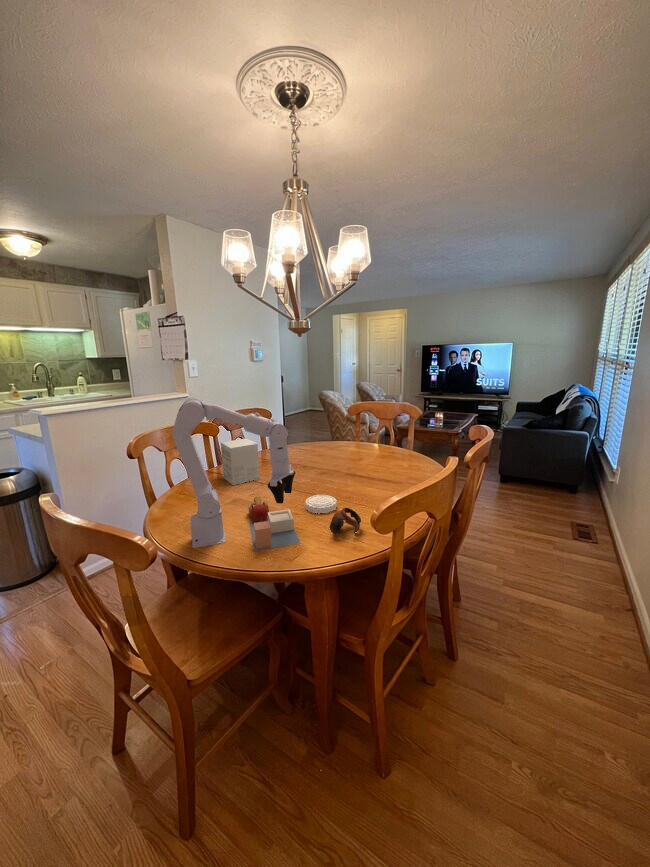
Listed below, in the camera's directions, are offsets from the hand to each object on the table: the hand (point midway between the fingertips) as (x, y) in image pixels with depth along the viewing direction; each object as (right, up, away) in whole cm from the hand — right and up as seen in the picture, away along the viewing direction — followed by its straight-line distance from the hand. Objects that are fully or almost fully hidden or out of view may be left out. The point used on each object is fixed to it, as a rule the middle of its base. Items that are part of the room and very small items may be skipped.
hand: (284, 497), depth 112 cm
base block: (-1, -10, +2) cm, 10 cm away
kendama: (-11, -8, +12) cm, 18 cm away
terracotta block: (-5, -12, -9) cm, 16 cm away
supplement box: (-26, 0, +47) cm, 54 cm away
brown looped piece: (+19, -11, -1) cm, 22 cm away
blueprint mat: (-3, -11, -3) cm, 12 cm away
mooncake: (+12, -7, +16) cm, 21 cm away
